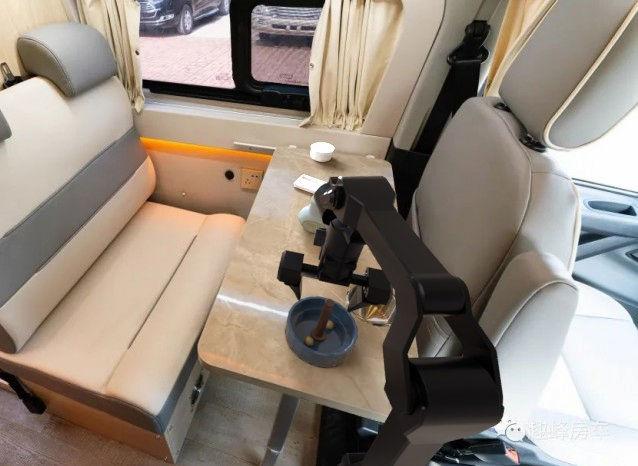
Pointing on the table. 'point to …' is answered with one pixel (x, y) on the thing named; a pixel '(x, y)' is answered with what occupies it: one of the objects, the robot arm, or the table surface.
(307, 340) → the chickpea
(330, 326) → the chickpea
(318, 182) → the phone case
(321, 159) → the ramekin
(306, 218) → the air freshener
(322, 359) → the bowl
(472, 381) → the robot arm
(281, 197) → the table surface
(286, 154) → the table surface
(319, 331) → the pestle
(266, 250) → the table surface
